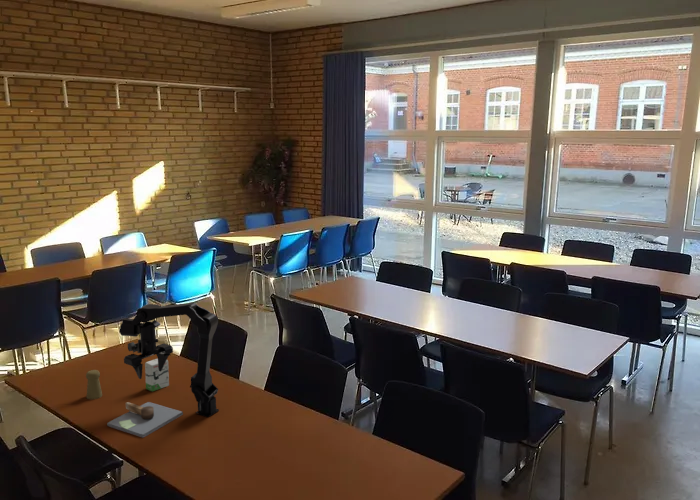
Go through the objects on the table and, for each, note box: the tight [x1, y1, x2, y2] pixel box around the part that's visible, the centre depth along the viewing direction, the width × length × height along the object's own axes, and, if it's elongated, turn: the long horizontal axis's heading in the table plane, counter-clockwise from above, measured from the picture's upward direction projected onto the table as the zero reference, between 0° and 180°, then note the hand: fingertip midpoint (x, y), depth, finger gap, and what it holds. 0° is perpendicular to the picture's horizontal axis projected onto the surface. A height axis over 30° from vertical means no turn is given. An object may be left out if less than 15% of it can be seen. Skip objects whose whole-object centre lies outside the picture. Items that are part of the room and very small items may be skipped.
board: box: [107, 401, 184, 438], centre depth 216 cm, size 18×20×1 cm
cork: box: [85, 369, 103, 400], centre depth 234 cm, size 6×6×11 cm
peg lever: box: [125, 401, 154, 419], centre depth 217 cm, size 14×4×3 cm, turn 58°
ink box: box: [144, 358, 170, 392], centre depth 244 cm, size 9×5×12 cm, turn 143°
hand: (150, 374), depth 225 cm, fingers open, 9 cm apart
